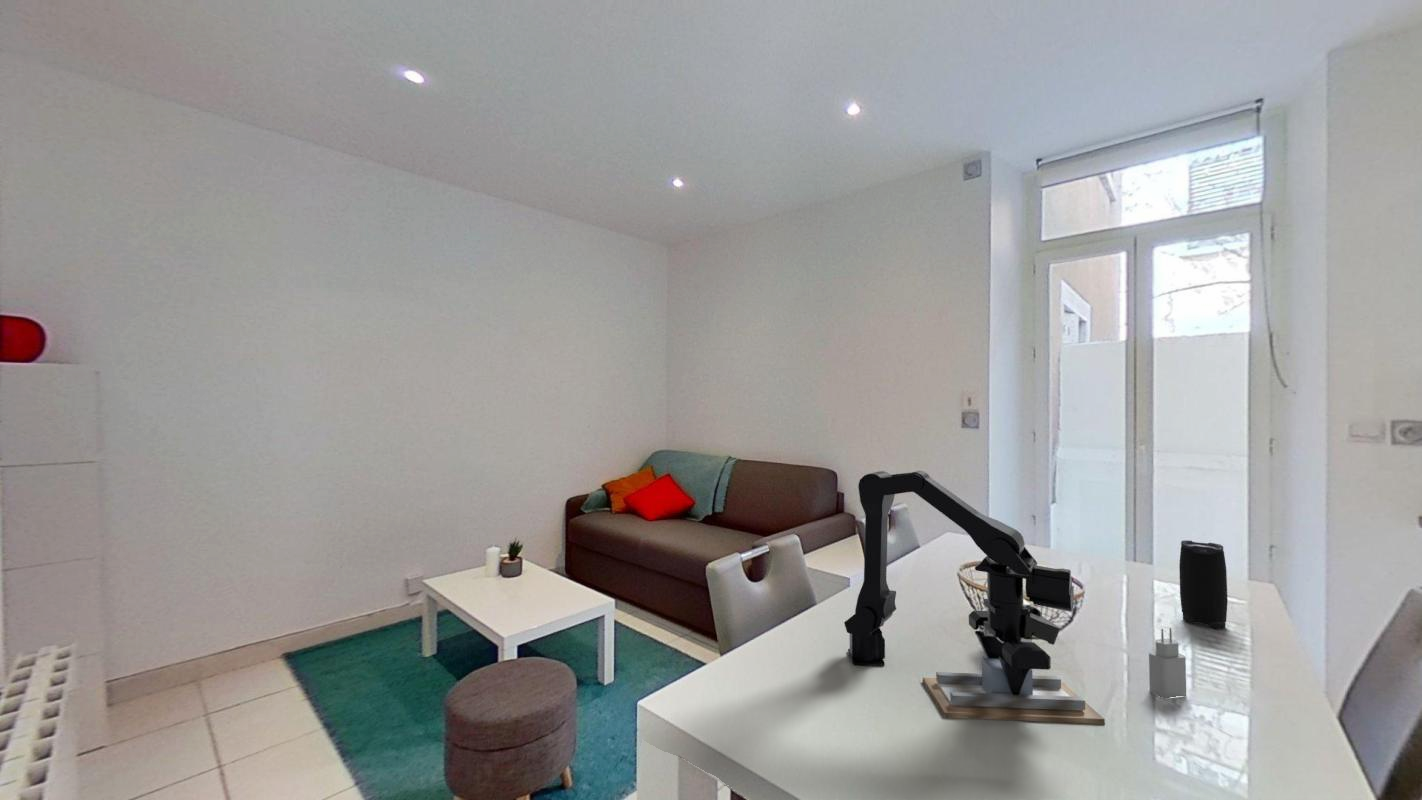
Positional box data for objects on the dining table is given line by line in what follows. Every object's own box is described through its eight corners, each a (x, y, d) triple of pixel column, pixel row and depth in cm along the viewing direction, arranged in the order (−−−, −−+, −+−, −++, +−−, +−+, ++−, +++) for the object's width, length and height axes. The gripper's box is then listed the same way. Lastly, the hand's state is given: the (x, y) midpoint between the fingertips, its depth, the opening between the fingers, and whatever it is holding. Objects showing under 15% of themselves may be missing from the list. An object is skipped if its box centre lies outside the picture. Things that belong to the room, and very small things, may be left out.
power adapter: (1188, 696, 97) (1187, 630, 97) (1164, 699, 96) (1162, 632, 96) (1171, 687, 100) (1169, 623, 100) (1147, 690, 99) (1145, 626, 99)
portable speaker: (1225, 621, 131) (1223, 542, 132) (1230, 634, 124) (1228, 550, 124) (1179, 613, 137) (1178, 537, 137) (1181, 624, 129) (1179, 544, 130)
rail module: (991, 699, 94) (991, 668, 94) (982, 687, 98) (981, 657, 98) (1033, 701, 93) (1033, 669, 94) (1022, 689, 97) (1021, 659, 98)
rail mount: (944, 717, 91) (944, 700, 91) (922, 681, 103) (922, 667, 103) (1104, 723, 89) (1104, 706, 89) (1063, 686, 101) (1062, 671, 101)
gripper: (1083, 619, 86) (1085, 716, 86) (1025, 582, 105) (1026, 662, 104) (1012, 617, 87) (1014, 713, 87) (967, 581, 106) (968, 660, 105)
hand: (1006, 685), depth 96 cm, fingers open, 6 cm apart
